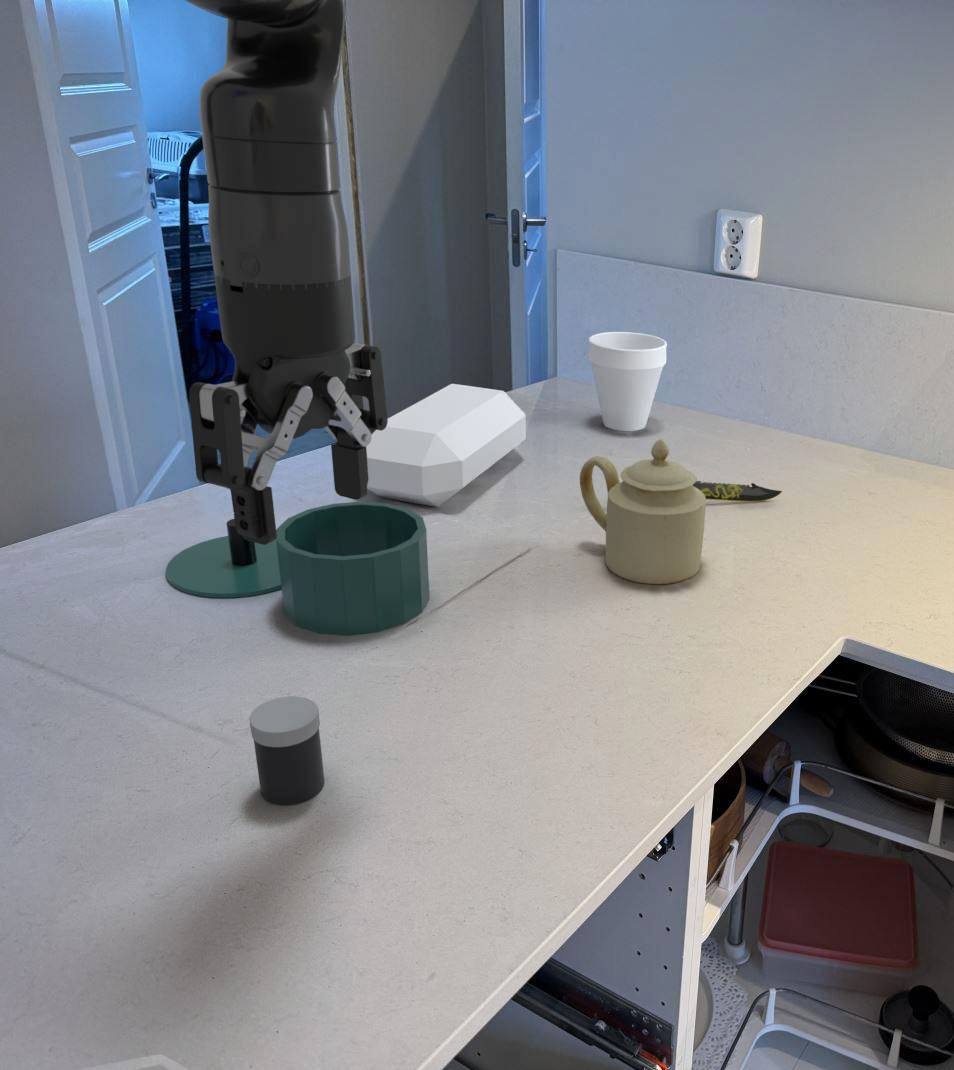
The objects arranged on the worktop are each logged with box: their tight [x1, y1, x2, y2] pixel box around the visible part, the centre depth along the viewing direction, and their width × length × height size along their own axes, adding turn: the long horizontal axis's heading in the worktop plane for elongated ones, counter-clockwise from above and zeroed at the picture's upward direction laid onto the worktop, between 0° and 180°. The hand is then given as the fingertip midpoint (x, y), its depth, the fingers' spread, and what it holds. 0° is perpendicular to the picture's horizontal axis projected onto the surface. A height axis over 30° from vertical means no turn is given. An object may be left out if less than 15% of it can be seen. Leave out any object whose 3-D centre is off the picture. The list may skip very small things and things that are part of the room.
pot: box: [276, 501, 431, 637], centre depth 98 cm, size 14×14×8 cm
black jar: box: [249, 695, 325, 806], centre depth 73 cm, size 5×5×6 cm
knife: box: [693, 480, 783, 503], centre depth 130 cm, size 23×2×5 cm, turn 108°
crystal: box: [366, 383, 527, 508], centre depth 131 cm, size 14×10×28 cm
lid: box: [165, 518, 282, 599], centre depth 103 cm, size 15×15×6 cm
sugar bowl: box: [579, 438, 707, 585], centre depth 110 cm, size 15×11×15 cm
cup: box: [587, 331, 668, 432], centre depth 157 cm, size 12×12×14 cm
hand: (307, 517), depth 65 cm, fingers open, 8 cm apart
